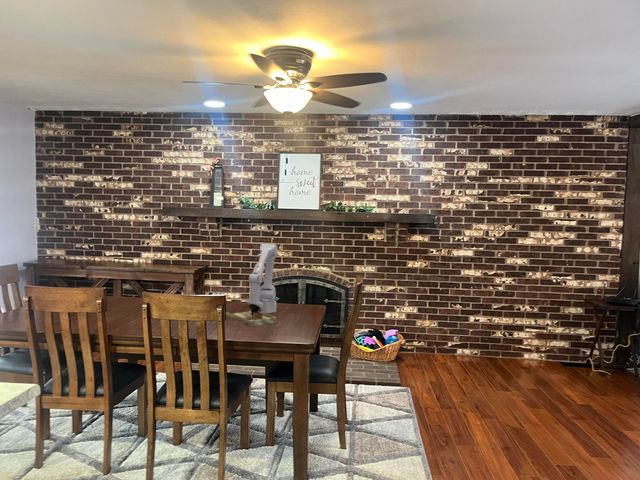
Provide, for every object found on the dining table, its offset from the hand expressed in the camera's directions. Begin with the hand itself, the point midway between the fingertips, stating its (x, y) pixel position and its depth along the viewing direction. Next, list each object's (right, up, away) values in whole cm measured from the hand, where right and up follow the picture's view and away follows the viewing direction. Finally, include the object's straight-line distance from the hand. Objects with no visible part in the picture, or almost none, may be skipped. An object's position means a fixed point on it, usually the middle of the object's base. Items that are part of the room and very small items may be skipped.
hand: (254, 317), depth 258 cm
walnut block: (+2, -1, -3) cm, 4 cm away
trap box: (-3, -2, +3) cm, 4 cm away
